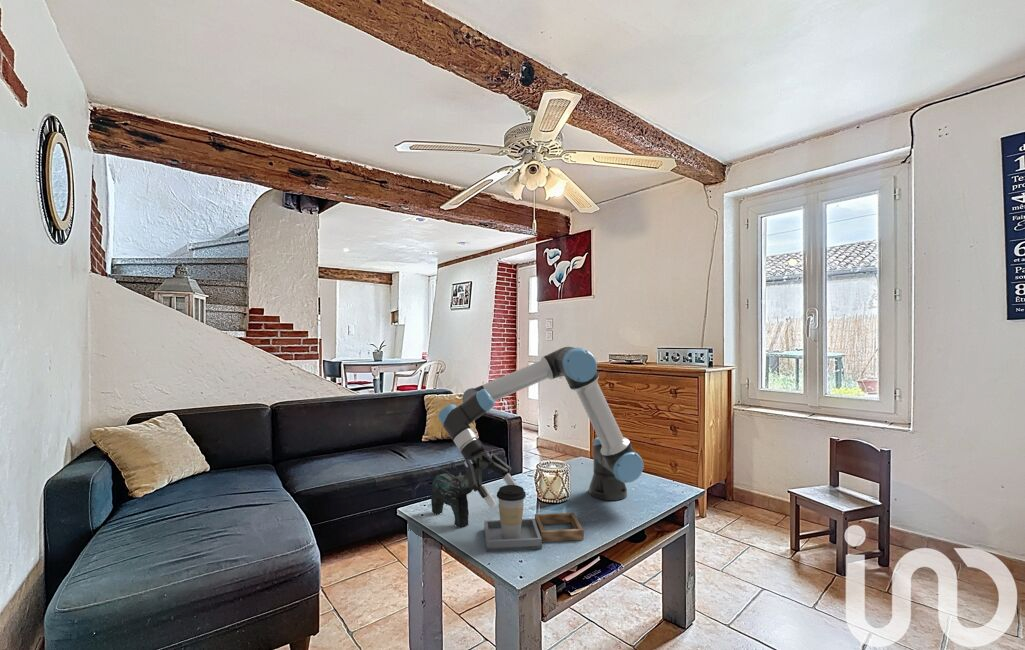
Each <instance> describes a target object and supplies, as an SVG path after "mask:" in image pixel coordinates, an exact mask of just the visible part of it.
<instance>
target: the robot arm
mask: <svg viewBox="0 0 1025 650" xmlns="http://www.w3.org/2000/svg"><path fill="white" fill-rule="evenodd" d="M595 357H596V356H594V355H593V353H591V351H589V350H588V349H585V348H582V347H573V346H564V347H560V348H558V349H557V350H554V351H552V352H550V353H548V354H547V355H544V356H542V357H541V358H540V360H538V361H536V362H534V363H531V364H528V365H526V366H525V367H522V368H520V369H517V370H515V371H513V372H510V373H507V374H506V375H505V374H504V375H503V376H501V377H498V378H496V379H493V380H491V381H489V382H486V383H483V384H482V385H479V386H476V387H471V388H468V389H466V390H465V391H463V394H462V403H461V404H460V405H458V406H457V405H456V404H454V403H450V404H449V405H446V406H444V407H443V408H442V409H441V410H440V411H439V412H438V417H437V418H438V420H439V422H440V423H441V425H442V427H443V428H444V429H445V431H446V433H447V434H448V435H449V437H450V438H451V440H452V441H453V442H454V444H455V445H456V447H457V449H458V451H460V454H461V455H462V457H463V458H464V459H465V461H464V462H463V463H462V466H463V468H464V469H465V472H466V473H465V474H467V478H468V482H469V486H470V489H471V490H472V491H474V492H478V494H479V496H480V497H481V498H482V499H484V501H485V503H486V504H487V506H488V507H489V509H490V508H492V507H493V506H494V505H495V504H496V503H497V501H496V500H495V498H494V497H493V495H492V494H491V492H490V491H489V489H488V488H487V486H486V485H485V484H483V480H482V479H483V475H482V473H483V472H482V471H483V469H484V470H485V469H490V470H492V471H493V472H495V473H497V474H499V475H501V476H503V477H502V479H503V481H504V482H505V483H506V485H517V483H516V481H515V479H514V478H513V477H512V474H511V471H512V467H511V466H509V464H507V463H506V462H505V461H503V459H501V458H499V457H498V456H497V455H496V454H495V453H494V452H493V450H492V449H490V450H489V451H488V452H486V451H485V445H484V444H483V443H482V441H481V440H480V439H479V438H478V436H477V434H476V433H475V431H474V430H473V429H472V427H471V426H470V425H471V424H473V422H474V421H476V420H477V419H479V418H481V417H482V416H484V414H486V413H488V412H489V411H490V410H491V409H492V408H494V407H495V406H496V401H498V400H500V399H503V398H505V397H507V396H510V395H512V394H514V393H517V392H519V391H521V390H524V389H526V388H528V387H530V386H533V385H536V384H538V383H541V382H543V381H545V380H547V379H549V380H554V379H558V378H561V377H564V378H565V380H566V382H567V384H568V387H569V388H570V390H572V391H575V392H576V394H577V395H578V398H579V399H580V403H581V405H582V406H583V408H584V411H585V413H586V415H587V418H588V419H589V421H590V423H591V426H592V427H593V430H594V432H595V434H596V437H595V438H594V439H593V445H592V448H593V474H592V477H591V481H590V483H589V487H588V493H589V494H590V496H592V497H593V498H595V497H596V499H598V498H599V500H602V499H604V500H603V501H620V500H619V499H621V500H623V498H624V499H626V498H627V496H628V488H627V485H626V484H627V483H632V482H636V481H637V480H638V479H639V478H640V477H641V476H642V473H643V471H644V468H645V467H644V461H643V459H642V457H641V456H640V454H638V452H636V451H635V449H634V448H633V446H632V443H631V442H630V439H629V438H627V437H625V436H623V434H622V432H621V430H620V427H619V425H618V423H617V421H616V419H615V416H614V415H613V412H612V410H611V408H610V406H609V403H608V402H607V399H606V397H605V395H604V393H603V391H602V388H601V386H600V384H599V383H598V380H599V378H600V375H599V373H598V370H597V369H598V363H597V359H596V358H595ZM517 486H518V485H517Z"/></svg>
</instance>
